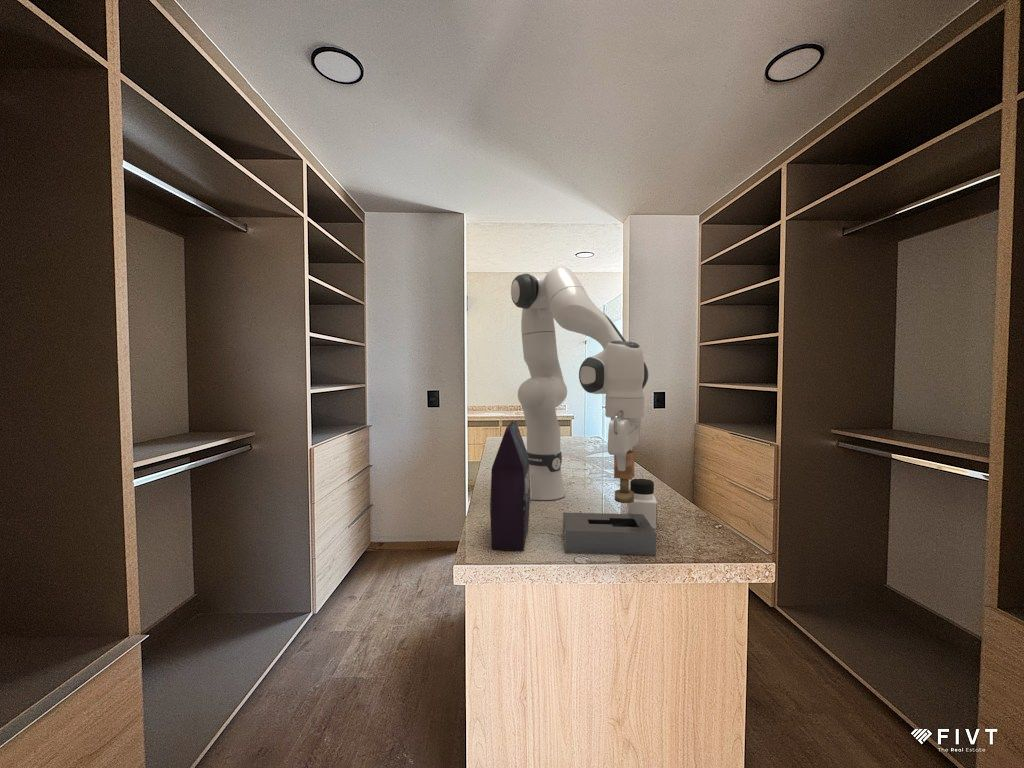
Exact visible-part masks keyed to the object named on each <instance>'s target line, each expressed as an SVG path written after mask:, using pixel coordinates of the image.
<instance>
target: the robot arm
mask: <svg viewBox="0 0 1024 768" xmlns="http://www.w3.org/2000/svg"><path fill="white" fill-rule="evenodd" d="M510 295H511V301H512V303H513V304H514V305H515V307H517V308H520V309H522V311H521V322H520V323H521V325H520V326H521V327H520V330H521V332H520V333H521V341H522V342H521V343H522V353H523V359H524V362H525V364H526V366H527V369H528V371H529V374H530V375H529V376H530V377H529V378H528V379H526V380H525V381H523V382H522V383H521V384H520V386H519V387H518V390H517V398H518V402H519V403H520V405H521V407H522V411H523V416H524V421H525V427H526V451H527V454H528V457H529V477H530V500H531V501H533V500H535V501H536V500H537V501H552V500H554V501H555V500H559V499H561V498H563V497H565V496H566V493H565V488H564V483H563V474H562V472H563V471H562V467H561V466H562V459H563V454H562V451H561V426H560V425H559V420H558V417H557V410H556V408H557V407H559V406H560V405H562V403H563V402H564V401H565V400H566V398H567V395H568V388H567V385H566V384H565V380H564V376H563V372H562V368H561V365H560V362H559V357H558V347H557V337H556V327H555V321H556V323H557V324H558V325H559V327H561V328H563V329H565V330H566V331H570V332H573V333H577V334H580V335H583V336H587V337H589V338H591V339H592V340H595V341H596V342H598V343H599V345H600V346H601V347H602V348H603V350H601V351H600V352H598V353H597V354H595V355H592V356H589V357H586V358H585V359H584V360H583V361H582V363H581V365H580V367H579V371H578V380H579V383H580V385H581V387H582V389H583V390H584V391H585V392H587V393H589V394H593V395H604V394H605V397H604V398H605V402H604V405H605V406H604V407H605V408H604V409H605V411H604V412H605V413H604V415H605V417H606V418H609V419H610V421H609V423H608V432H607V451H608V455H610V456H611V455H612V456H614V455H616V459H617V463H618V470H619V471H625V470H626V453H627V452H628V451H629V450H630V451H633V448H634V447H635V446H636V445H637V444H638V443H639V439H640V435H641V434H640V432H641V422H642V418H644V417H645V395H644V391H643V389H644V388H645V386H646V385H647V383H648V381H649V380H648V379H649V369H648V367H647V365H646V363H645V361H644V360H645V359H644V354H643V349H642V347H641V345H640V344H638V343H637V342H635V341H634V342H632V341H628V340H627V341H626V339H625V338H624V336H623V335H622V334H621V332H620V330H619V329H618V328H617V327H616V325H615V323H614V322H613V321H612V320H611V319H610V318H609V316H608V315H607V314H606V313H604V312H603V311H602V310H601V309H600V308H599V307H598V306H597V305H596V304H595V303H594V301H593V300H591V298H590V297H589V295H588V294H587V291H586V290H585V288H584V285H583V284H582V282H581V281H580V280H579V278H578V277H577V276H576V275H575V273H574V272H573V271H572V270H571V269H570V268H568V267H566V266H565V267H564V266H559V267H558V266H557V267H555V268H552V269H551V270H549V271H548V272H537V273H523V274H518V275H517V276H515V277H514V279H513V280H512V282H511V285H510Z"/></svg>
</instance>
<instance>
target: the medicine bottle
mask: <svg viewBox="0 0 1024 768" xmlns="http://www.w3.org/2000/svg"><path fill="white" fill-rule="evenodd" d="M629 481H630V483H629V490H630V491H633V492H634V502H632V503H626V504H627V512H626V514H643V515H644V516H645V518H646V519H647V520H648V522H649V523H650V525H651V526H652V528H653V529H654V530H657V527H658V501H657V499H656V497H655V482H654V481H653V480H651V479H649V478H644V477H636V478H632V480H629Z"/></svg>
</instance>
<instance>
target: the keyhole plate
mask: <svg viewBox="0 0 1024 768" xmlns="http://www.w3.org/2000/svg"><path fill="white" fill-rule="evenodd" d="M655 530H656V529H653V528H652V526H651V525H650V523H649V522H648V520H647V519H646V518H645V516H644V515H643V514H627V513H602V512H601V513H598V512H597V513H595V512H566V511H565V512H562V535H563V542H564V551H565V553H566V554H568V553H569V554H594V555H595V554H597V555H599V554H600V555H627V554H629V555H630V556H631V555H632V556H634V555H636V556H637V555H638V556H657V532H656V531H655Z"/></svg>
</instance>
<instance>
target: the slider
mask: <svg viewBox="0 0 1024 768" xmlns="http://www.w3.org/2000/svg"><path fill="white" fill-rule="evenodd" d="M635 451H636V450H632V451H630V450H629V451H628V452H627V453H626V470H625V471H619V470H618V463H617V459H616V455H613V478H614V479H619V489H616V490H615V491H614V502H617V503H621V504H627V503H632V502H634V492H633V491H630V483H629V481H631V480H632V479H634V477H635Z"/></svg>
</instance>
